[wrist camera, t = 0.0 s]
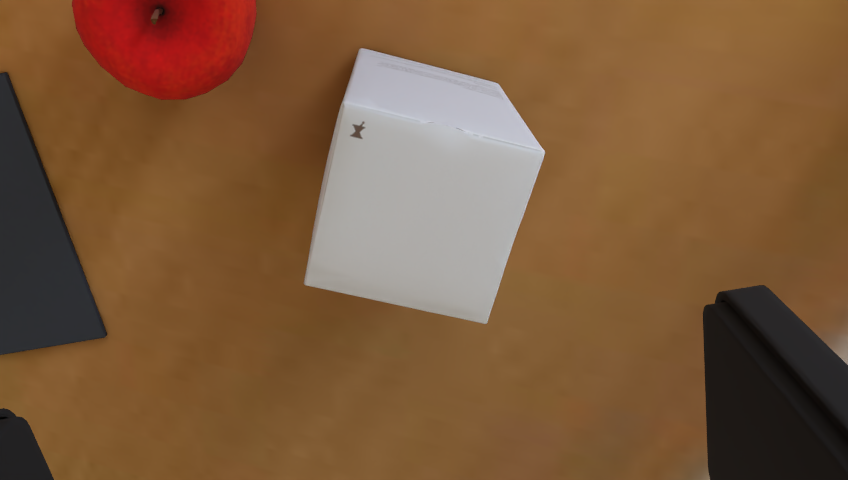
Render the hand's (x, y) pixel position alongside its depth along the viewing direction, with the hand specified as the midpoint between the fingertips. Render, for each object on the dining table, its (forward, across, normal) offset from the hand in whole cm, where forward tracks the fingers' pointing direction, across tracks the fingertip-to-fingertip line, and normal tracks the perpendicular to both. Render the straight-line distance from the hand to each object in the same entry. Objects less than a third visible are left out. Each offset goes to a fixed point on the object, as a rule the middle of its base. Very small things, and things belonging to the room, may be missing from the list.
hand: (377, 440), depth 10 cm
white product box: (+37, 0, +5) cm, 37 cm away
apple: (+37, +11, -5) cm, 39 cm away
